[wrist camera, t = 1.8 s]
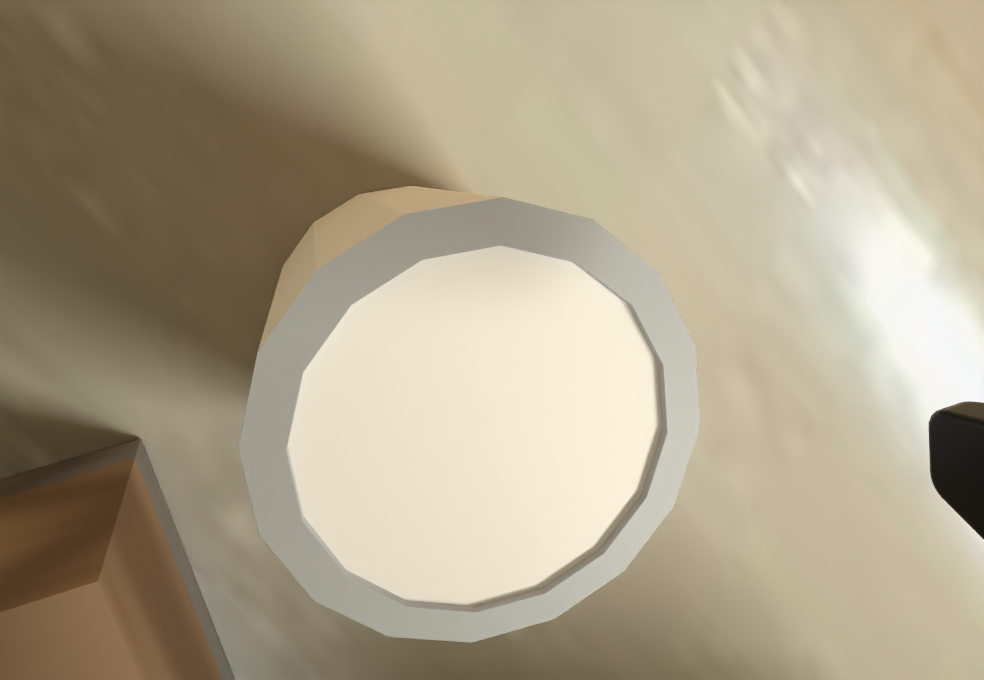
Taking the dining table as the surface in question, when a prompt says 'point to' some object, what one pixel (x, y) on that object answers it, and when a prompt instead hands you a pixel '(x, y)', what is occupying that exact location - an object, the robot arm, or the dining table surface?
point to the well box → (99, 577)
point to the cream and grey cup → (464, 412)
